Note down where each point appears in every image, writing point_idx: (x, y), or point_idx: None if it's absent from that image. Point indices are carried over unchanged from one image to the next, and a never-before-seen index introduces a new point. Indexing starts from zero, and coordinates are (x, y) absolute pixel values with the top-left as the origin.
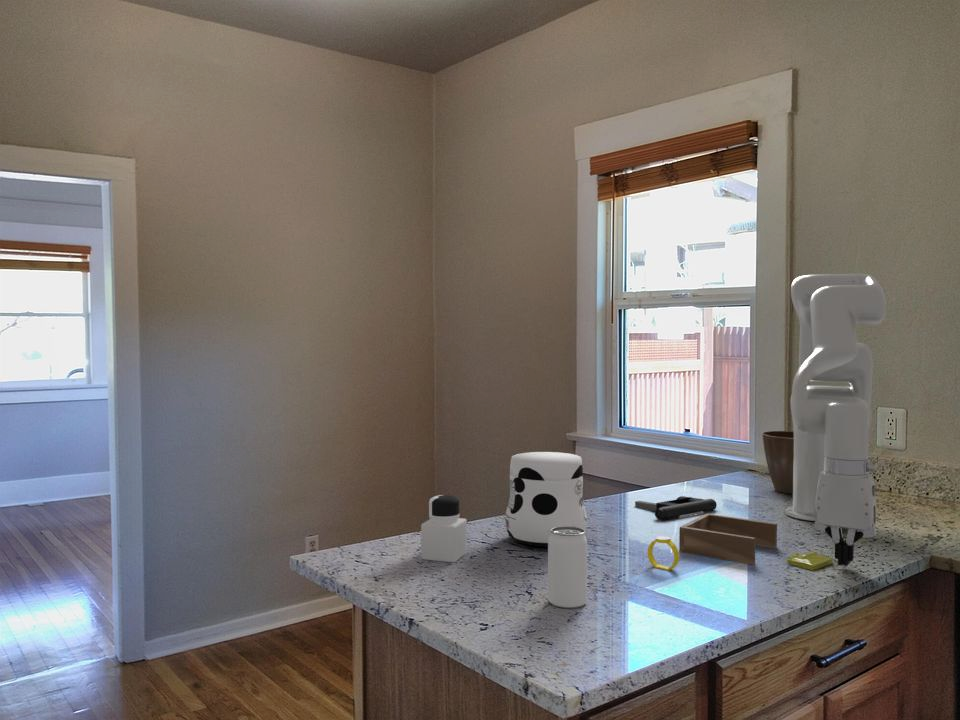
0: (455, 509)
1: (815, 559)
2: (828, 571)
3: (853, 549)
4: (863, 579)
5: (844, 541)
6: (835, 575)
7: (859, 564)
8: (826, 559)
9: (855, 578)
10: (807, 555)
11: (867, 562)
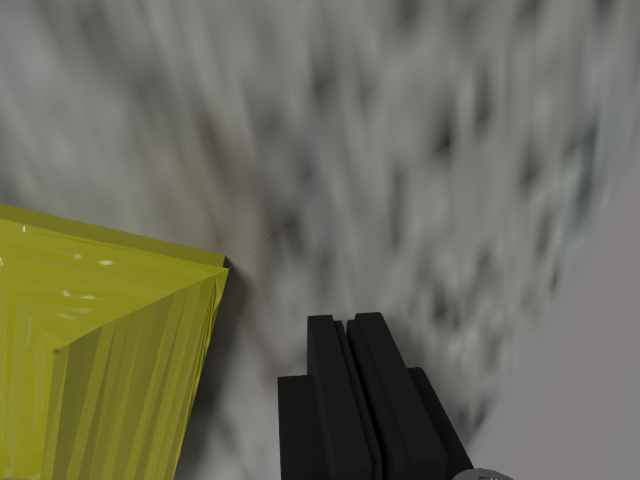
0: None
1: (130, 427)
2: (259, 437)
3: (453, 436)
4: None
5: (369, 461)
6: None
7: (419, 138)
8: (189, 335)
9: None
10: (56, 463)
11: (479, 18)
